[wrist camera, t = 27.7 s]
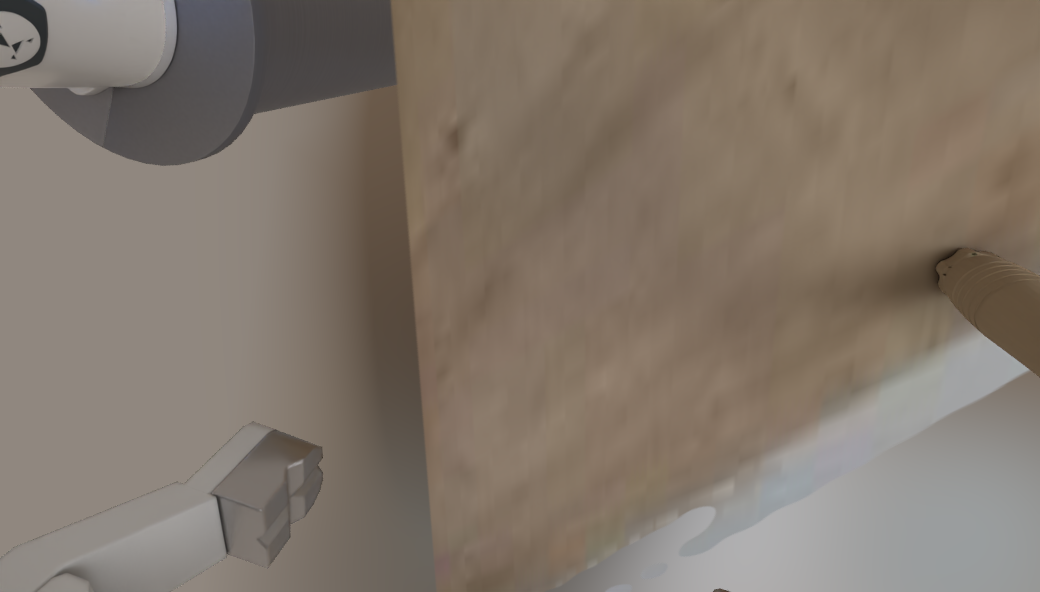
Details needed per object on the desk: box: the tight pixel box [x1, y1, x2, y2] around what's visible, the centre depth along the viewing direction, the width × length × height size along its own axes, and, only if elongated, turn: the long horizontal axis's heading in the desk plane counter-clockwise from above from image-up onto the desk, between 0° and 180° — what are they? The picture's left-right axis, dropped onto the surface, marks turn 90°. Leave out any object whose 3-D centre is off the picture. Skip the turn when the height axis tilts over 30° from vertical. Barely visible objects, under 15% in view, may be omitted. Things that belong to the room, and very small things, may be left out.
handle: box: [936, 248, 1040, 377], centre depth 26 cm, size 5×6×15 cm
